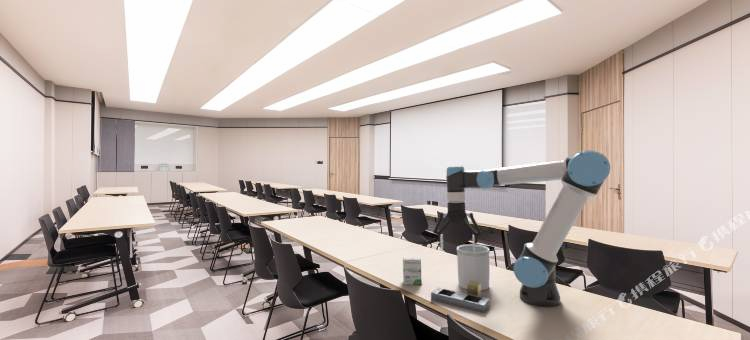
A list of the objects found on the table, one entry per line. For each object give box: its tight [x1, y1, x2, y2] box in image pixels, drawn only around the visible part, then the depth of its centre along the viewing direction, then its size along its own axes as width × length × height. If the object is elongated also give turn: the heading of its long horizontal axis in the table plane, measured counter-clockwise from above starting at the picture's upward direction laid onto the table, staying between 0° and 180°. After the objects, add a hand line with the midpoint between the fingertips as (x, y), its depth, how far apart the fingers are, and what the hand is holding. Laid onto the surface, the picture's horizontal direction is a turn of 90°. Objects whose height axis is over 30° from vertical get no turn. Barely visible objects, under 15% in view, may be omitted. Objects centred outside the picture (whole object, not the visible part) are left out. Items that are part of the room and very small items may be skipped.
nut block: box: [466, 281, 482, 297], centre depth 139 cm, size 4×4×6 cm
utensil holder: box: [456, 243, 490, 291], centre depth 153 cm, size 15×15×18 cm
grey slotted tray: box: [430, 286, 491, 314], centre depth 134 cm, size 22×7×3 cm, turn 54°
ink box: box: [402, 256, 422, 286], centre depth 157 cm, size 9×5×12 cm, turn 84°
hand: (457, 250), depth 143 cm, fingers open, 13 cm apart
